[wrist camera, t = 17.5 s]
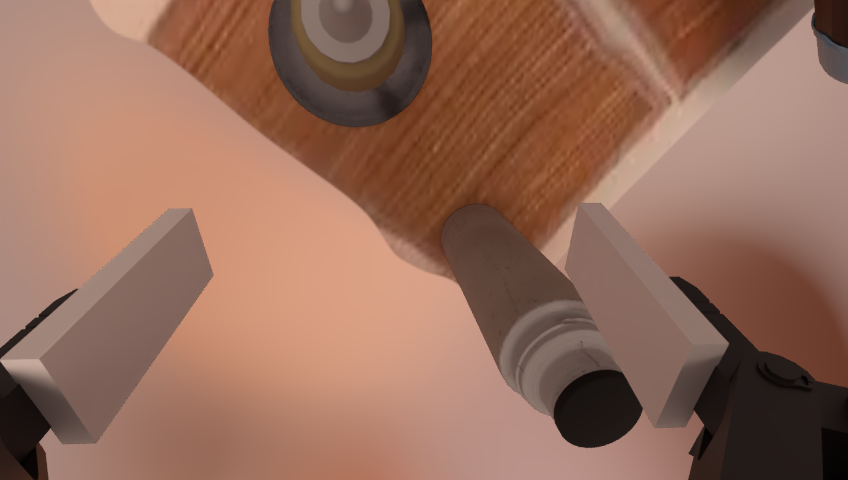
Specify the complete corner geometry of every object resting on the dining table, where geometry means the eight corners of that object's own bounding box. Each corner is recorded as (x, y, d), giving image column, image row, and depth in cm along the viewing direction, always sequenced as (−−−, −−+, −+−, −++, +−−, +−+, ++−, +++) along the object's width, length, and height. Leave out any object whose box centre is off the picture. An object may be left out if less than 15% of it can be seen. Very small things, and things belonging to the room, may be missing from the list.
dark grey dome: (431, -45, 37) (441, -63, 33) (429, 125, 43) (437, 131, 38) (260, -54, 35) (244, -74, 31) (280, 126, 41) (269, 131, 36)
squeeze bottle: (341, -40, 32) (316, -168, 16) (420, 33, 35) (470, -11, 18) (284, 47, 34) (207, 14, 17) (363, 111, 37) (363, 135, 20)
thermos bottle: (498, 271, 50) (642, 474, 24) (434, 263, 48) (515, 471, 23) (514, 208, 47) (696, 361, 21) (448, 198, 46) (557, 350, 20)
